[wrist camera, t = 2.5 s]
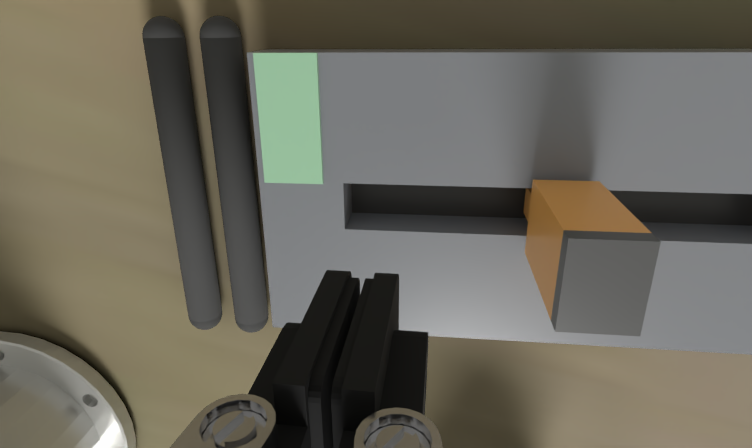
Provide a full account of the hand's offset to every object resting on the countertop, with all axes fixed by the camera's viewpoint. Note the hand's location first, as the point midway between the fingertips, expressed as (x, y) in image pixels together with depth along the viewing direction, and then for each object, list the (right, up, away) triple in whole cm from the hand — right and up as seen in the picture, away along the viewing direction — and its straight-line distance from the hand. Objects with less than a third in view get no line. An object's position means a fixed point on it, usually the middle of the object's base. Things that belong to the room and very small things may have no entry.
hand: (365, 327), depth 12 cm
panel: (+8, +4, +10) cm, 13 cm away
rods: (-7, +4, +12) cm, 15 cm away
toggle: (+8, +4, +10) cm, 13 cm away
